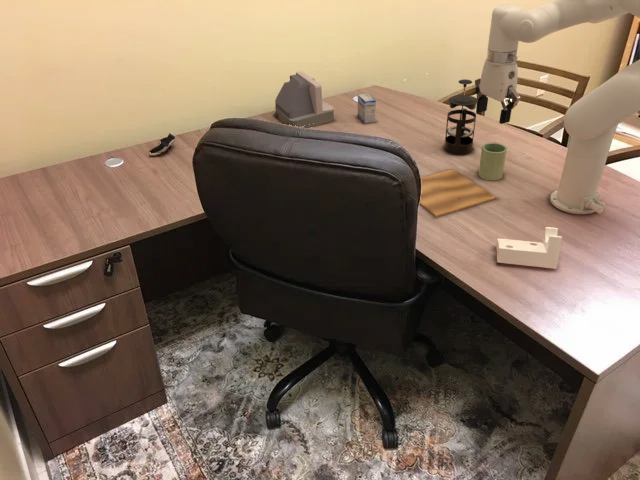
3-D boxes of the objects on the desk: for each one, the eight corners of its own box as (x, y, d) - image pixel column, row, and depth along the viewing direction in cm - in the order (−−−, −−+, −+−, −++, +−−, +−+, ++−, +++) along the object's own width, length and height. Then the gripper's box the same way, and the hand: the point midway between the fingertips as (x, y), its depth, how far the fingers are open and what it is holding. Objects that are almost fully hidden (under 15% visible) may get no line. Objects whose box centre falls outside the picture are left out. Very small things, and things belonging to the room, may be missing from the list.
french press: (470, 157, 172) (479, 87, 159) (441, 154, 175) (447, 85, 162) (474, 142, 181) (483, 75, 168) (446, 139, 184) (452, 73, 171)
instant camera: (337, 123, 200) (336, 84, 192) (283, 132, 196) (279, 92, 188) (322, 104, 217) (320, 67, 209) (272, 112, 213) (268, 74, 205)
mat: (495, 199, 150) (495, 197, 150) (436, 217, 144) (436, 215, 144) (452, 170, 166) (452, 168, 165) (397, 185, 159) (397, 184, 159)
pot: (507, 177, 160) (512, 149, 155) (488, 182, 158) (492, 154, 153) (492, 167, 166) (496, 140, 161) (473, 173, 164) (477, 145, 158)
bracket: (552, 257, 128) (557, 227, 126) (556, 268, 122) (562, 237, 119) (495, 251, 131) (499, 222, 129) (497, 262, 125) (501, 231, 122)
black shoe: (157, 163, 185) (167, 150, 181) (146, 154, 183) (157, 141, 180) (169, 149, 193) (179, 137, 190) (159, 141, 192) (169, 128, 188)
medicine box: (357, 116, 205) (357, 94, 200) (368, 114, 206) (368, 92, 201) (364, 124, 199) (364, 101, 194) (376, 122, 200) (376, 99, 195)
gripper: (536, 61, 137) (524, 124, 146) (491, 46, 150) (483, 105, 159) (513, 66, 134) (502, 130, 144) (469, 50, 147) (462, 110, 157)
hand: (492, 117), depth 152 cm, fingers open, 9 cm apart
